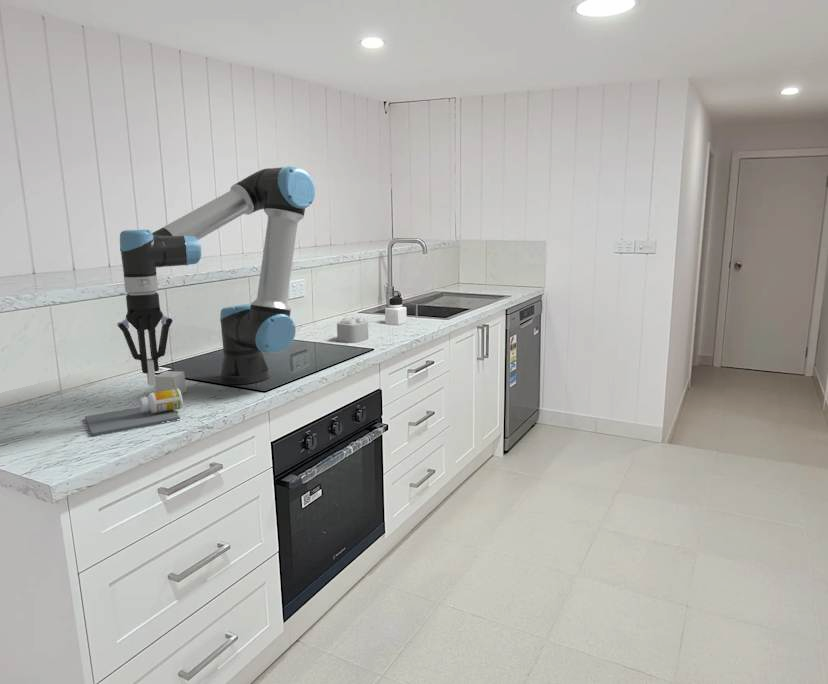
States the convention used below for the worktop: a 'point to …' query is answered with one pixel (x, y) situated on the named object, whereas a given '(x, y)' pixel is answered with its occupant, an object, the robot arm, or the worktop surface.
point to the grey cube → (170, 381)
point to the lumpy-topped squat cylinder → (352, 330)
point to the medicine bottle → (395, 312)
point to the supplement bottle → (161, 401)
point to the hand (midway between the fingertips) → (151, 384)
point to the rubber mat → (126, 420)
